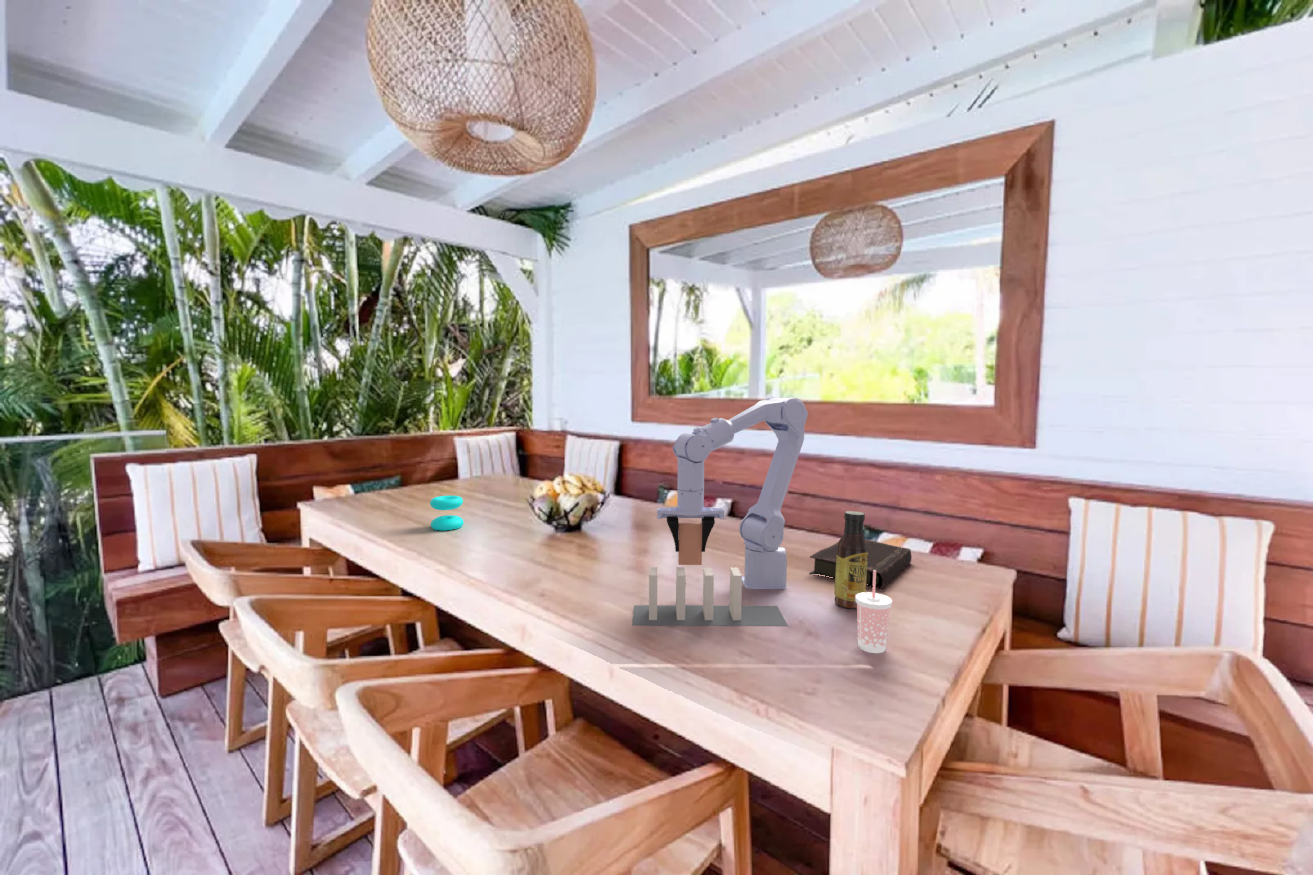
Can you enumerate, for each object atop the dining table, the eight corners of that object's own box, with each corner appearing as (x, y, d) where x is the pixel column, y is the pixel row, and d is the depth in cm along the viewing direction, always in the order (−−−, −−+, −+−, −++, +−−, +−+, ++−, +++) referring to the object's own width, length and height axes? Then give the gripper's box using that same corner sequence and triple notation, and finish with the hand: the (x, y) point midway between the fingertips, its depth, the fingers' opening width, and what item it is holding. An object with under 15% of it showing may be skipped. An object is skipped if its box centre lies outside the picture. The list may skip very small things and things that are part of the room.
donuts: (445, 493, 190) (469, 495, 186) (445, 523, 191) (470, 525, 187) (422, 499, 181) (448, 501, 177) (424, 530, 181) (449, 533, 178)
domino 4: (737, 610, 116) (738, 567, 116) (741, 620, 111) (741, 575, 111) (729, 610, 116) (730, 567, 116) (732, 620, 111) (733, 575, 111)
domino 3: (710, 610, 116) (711, 567, 116) (713, 620, 111) (713, 575, 111) (702, 610, 116) (703, 567, 116) (704, 620, 111) (705, 575, 111)
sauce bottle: (849, 612, 117) (853, 517, 115) (827, 602, 122) (830, 511, 120) (872, 606, 120) (876, 514, 118) (849, 597, 125) (853, 508, 123)
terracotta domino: (678, 562, 125) (678, 522, 124) (701, 562, 125) (701, 522, 124) (678, 564, 123) (679, 524, 123) (701, 564, 123) (702, 524, 123)
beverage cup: (897, 652, 99) (901, 574, 98) (867, 657, 97) (871, 577, 96) (874, 637, 105) (877, 563, 104) (846, 641, 103) (849, 566, 102)
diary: (911, 566, 149) (913, 548, 149) (882, 593, 130) (884, 572, 129) (841, 552, 161) (842, 535, 160) (805, 575, 141) (806, 555, 141)
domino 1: (656, 610, 116) (657, 567, 116) (657, 620, 111) (657, 575, 111) (649, 610, 116) (649, 567, 116) (648, 620, 111) (649, 575, 111)
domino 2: (683, 610, 116) (684, 567, 116) (685, 620, 111) (685, 575, 111) (675, 610, 116) (676, 567, 116) (676, 620, 111) (677, 575, 111)
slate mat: (777, 607, 119) (777, 605, 119) (788, 627, 109) (788, 625, 109) (634, 607, 119) (634, 605, 119) (632, 627, 109) (632, 625, 109)
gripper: (721, 486, 127) (721, 545, 128) (657, 485, 127) (656, 545, 128) (725, 491, 120) (725, 554, 121) (657, 491, 120) (657, 554, 121)
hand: (690, 550), depth 124 cm, fingers closed on terracotta domino, 5 cm apart
